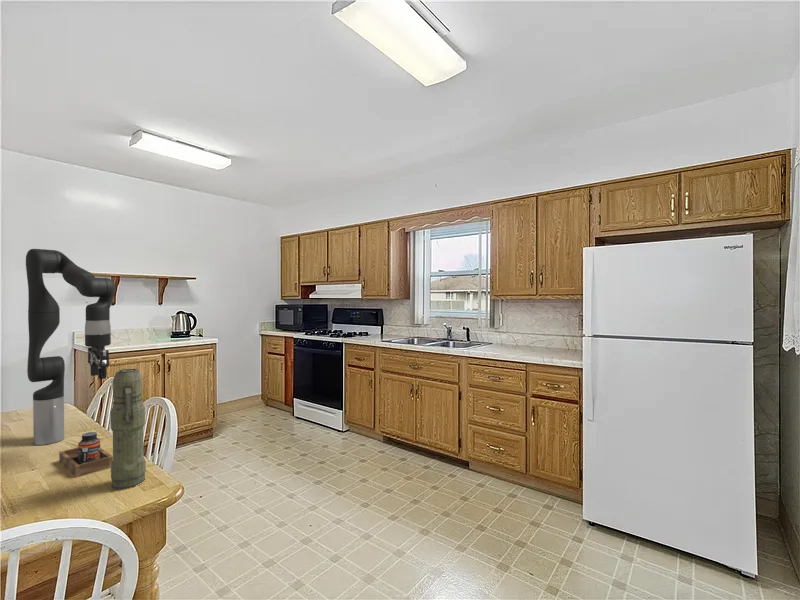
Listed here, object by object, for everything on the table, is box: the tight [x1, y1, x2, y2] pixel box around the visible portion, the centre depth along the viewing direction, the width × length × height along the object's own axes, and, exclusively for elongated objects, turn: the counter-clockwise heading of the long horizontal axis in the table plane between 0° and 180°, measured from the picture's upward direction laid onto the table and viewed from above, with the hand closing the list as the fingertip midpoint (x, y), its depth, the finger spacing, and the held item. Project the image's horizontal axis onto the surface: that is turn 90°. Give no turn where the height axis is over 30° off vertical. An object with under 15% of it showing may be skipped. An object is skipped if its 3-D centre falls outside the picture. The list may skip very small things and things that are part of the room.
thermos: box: [110, 368, 147, 490], centre depth 125 cm, size 9×12×35 cm
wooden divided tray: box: [58, 447, 113, 478], centre depth 139 cm, size 19×10×4 cm, turn 52°
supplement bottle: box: [77, 431, 101, 465], centre depth 136 cm, size 6×6×11 cm
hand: (98, 377), depth 147 cm, fingers open, 8 cm apart
